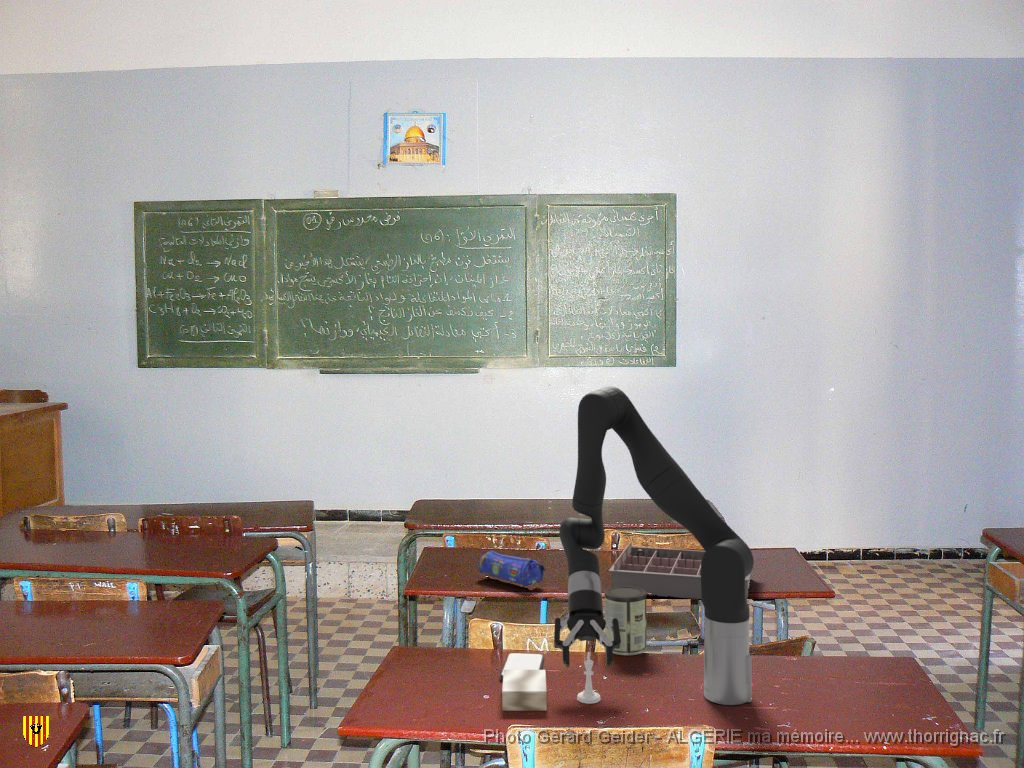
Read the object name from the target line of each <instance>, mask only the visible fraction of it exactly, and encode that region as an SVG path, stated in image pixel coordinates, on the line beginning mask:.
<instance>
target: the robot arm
mask: <svg viewBox="0 0 1024 768" xmlns="http://www.w3.org/2000/svg"><path fill="white" fill-rule="evenodd" d="M578 403H579V404H578V409H577V468H576V476H575V483H574V489H573V496H572V502H571V505H572V508H573V510H574V511H575V512H576V513H579V514H581V515H583V516H586V517H589V518H583V517H582V518H581V517H567V518H564V520H562V522H561V523H560V526H559V532H558V533H559V539H560V542H561V543H560V544H561V546H562V548H563V550H564V554H565V557H566V561H567V566H568V567H567V569H568V570H567V571H568V583H567V601H568V603H567V604H568V618H567V620H566V619H565V620H564V619H561V618H560V617H556V618H555V619H554V634H553V639H554V640H553V648H555V649H559V650H561V651H562V663H563V665H565V667H566V668H569V667H570V663H571V662H570V658H571V657H570V648H571V647H572V645H574V644H575V642H576V641H577V640H579V642H585V641H590V642H595V640H596V641H597V643H599V644H600V645H602V646H603V648H604V649H605V663H606V664H605V666H606V668H610V667H611V665H613V663H614V654H613V649H619V648H620V643H621V638H620V631H619V623H618V619H617V618H614V619H613V620H610V621H605V616H604V609H603V608H604V607H603V591H602V590H603V589H602V582H601V575H600V561H599V557H598V556H597V554H595V553H594V552H592V551H589V550H598V549H600V548H601V547H602V546H603V544H604V543H605V542H604V541H605V539H606V537H605V536H606V535H605V532H606V531H605V527H604V518H603V505H604V499H605V493H606V488H607V474H606V468H605V464H604V461H603V445H604V442H605V438H606V435H607V433H608V431H609V430H613V431H614V432H615V433H616V435H617V436H619V439H620V440H621V441H622V442H623V443H624V445H625V446H626V448H627V450H628V451H629V453H630V457H631V460H632V466H633V469H634V472H635V475H636V478H637V480H638V483H639V485H640V486H641V487H642V489H643V490H644V491H645V493H646V494H647V496H648V497H649V498H650V500H651V501H652V502H653V503H654V504H655V505H656V506H657V507H658V508H659V509H660V510H661V511H662V512H663V513H664V514H666V515H667V516H668V517H670V518H671V519H672V520H674V521H675V522H676V523H678V524H679V525H681V526H682V527H683V528H684V529H686V530H687V531H688V532H689V533H690V534H691V535H692V536H693V537H694V538H695V539H696V540H697V542H698V543H699V544H700V546H701V547H702V549H703V551H705V553H704V554H703V557H702V561H701V598H702V599H701V603H702V606H703V608H704V609H703V611H704V613H703V614H704V618H703V619H704V624H703V625H704V628H703V629H704V630H703V631H704V633H703V634H704V636H703V637H704V638H703V641H704V642H703V643H704V644H703V647H704V649H703V696H704V698H705V699H706V700H708V701H709V702H711V703H715V704H719V705H722V706H723V705H724V706H737V705H738V706H739V705H743V704H745V703H752V681H753V680H752V677H753V676H752V674H753V673H752V672H753V659H752V656H751V655H750V605H749V603H748V602H747V603H746V600H745V578H746V577H747V576H748V575H749V574H750V573H751V574H752V571H753V569H754V564H755V563H754V562H755V560H754V557H753V555H754V554H753V552H752V550H751V549H750V547H749V545H748V544H747V542H745V541H744V540H743V538H741V536H739V535H738V533H736V532H735V531H734V530H733V529H732V528H731V527H730V526H729V525H728V524H727V523H726V521H724V520H723V519H722V518H721V517H720V516H719V515H718V513H717V512H716V511H715V509H714V508H713V507H712V506H711V504H710V503H709V501H708V500H707V499H706V498H705V496H704V495H703V494H702V493H701V491H700V490H699V489H698V488H697V486H696V485H695V484H694V483H693V481H692V480H691V479H690V478H689V476H688V475H687V473H686V472H685V471H684V470H683V468H682V467H681V466H680V465H679V464H678V463H677V461H676V460H675V459H674V458H673V457H672V456H671V455H670V453H669V452H668V450H666V448H665V447H664V446H663V444H662V443H661V442H660V441H659V439H658V438H657V437H656V435H655V434H654V433H653V431H652V430H651V429H650V427H648V425H647V424H646V422H645V421H644V419H643V417H642V416H641V414H640V413H639V412H638V411H639V410H637V408H636V407H635V405H634V404H633V402H632V400H631V399H630V397H629V396H627V394H626V393H625V392H624V391H623V390H621V389H620V388H619V387H617V386H612V385H610V386H605V387H602V388H599V389H596V390H593V391H590V392H588V393H586V394H585V395H584V396H583V397H581V399H580V402H578ZM752 554H753V555H752ZM565 627H567V629H568V630H569V631H570V632H569V633H568V634H567V637H565V639H564V640H561V632H562V631H564V629H565ZM605 627H608V628H609V630H610V631H613V638H614V641H611V640H610V639H609V638H608V637H607V635H606V633H605Z"/></svg>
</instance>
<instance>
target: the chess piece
mask: <svg viewBox="0 0 1024 768" xmlns="http://www.w3.org/2000/svg"><path fill="white" fill-rule="evenodd" d="M591 657H592V654H591V651H587V655H586V659H585V660H584V661H583V664H584V668H585V670H584V671H583V675H586V677H585V678H586V679H585V686H584V689H583V690H582V691H581V692H578V694H577V697H576V700H577V701H578V702H580V703H582V704H587V705H589V704H597V703H599V702H600V701H601V695H600V694H599V692H595V690H594V689H593V683H592V681H593V680H592V675H593V676H594V674H595V673H594V671H593V670H592V669H593V665H594V660H592V659H591Z"/></svg>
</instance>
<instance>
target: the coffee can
mask: <svg viewBox="0 0 1024 768" xmlns="http://www.w3.org/2000/svg"><path fill="white" fill-rule="evenodd" d="M603 595H604V619H605V621H610V620H613V619H614V618H617V619H618V623H619V631H620V638H621V643H620V648H619V649H613V655H619V656H636V655H637V656H638V655H640V654H643V653H645V652H646V651H647V596H648V595H647V592H646V591H645V590H644V589H641V588H638V587H632V586H617V587H608V588H606V589H604V591H603ZM604 632H605V633H606V635H607V637H608V638H609V639H610V640H611V641H614V638H613V631H610V630H609V628H608V627H605V629H604ZM629 653H630V654H629Z"/></svg>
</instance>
